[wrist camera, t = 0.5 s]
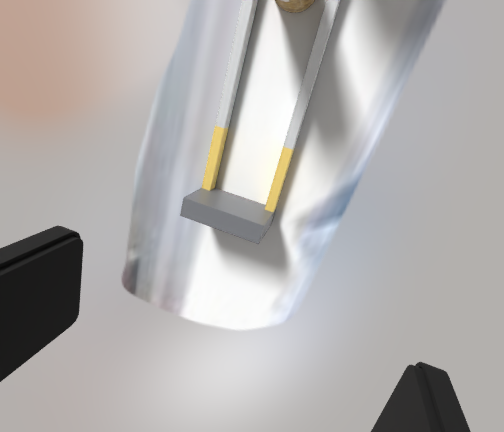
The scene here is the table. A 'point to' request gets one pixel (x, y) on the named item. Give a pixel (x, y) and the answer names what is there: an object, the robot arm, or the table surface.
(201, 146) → the table surface
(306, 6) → the sprinkles bottle
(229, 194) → the guide channel
